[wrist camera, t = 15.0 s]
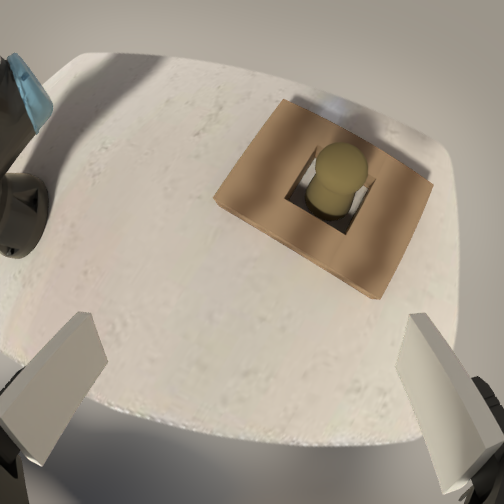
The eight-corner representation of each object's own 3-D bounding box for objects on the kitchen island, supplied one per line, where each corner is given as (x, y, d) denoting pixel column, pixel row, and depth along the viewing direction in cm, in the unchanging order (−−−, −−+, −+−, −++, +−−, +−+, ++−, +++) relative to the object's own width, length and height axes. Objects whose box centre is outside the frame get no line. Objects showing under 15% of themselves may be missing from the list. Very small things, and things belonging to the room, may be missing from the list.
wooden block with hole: (219, 206, 37) (212, 197, 34) (283, 113, 38) (283, 98, 35) (371, 298, 34) (380, 299, 30) (422, 193, 35) (433, 184, 31)
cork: (321, 166, 37) (334, 121, 26) (360, 193, 36) (387, 157, 25) (295, 202, 36) (299, 165, 26) (335, 230, 35) (356, 205, 25)
